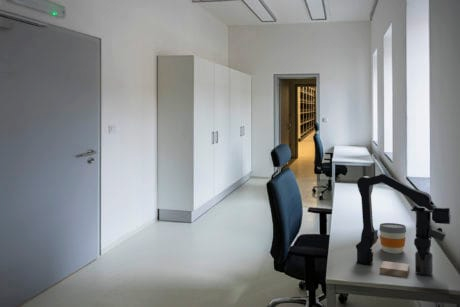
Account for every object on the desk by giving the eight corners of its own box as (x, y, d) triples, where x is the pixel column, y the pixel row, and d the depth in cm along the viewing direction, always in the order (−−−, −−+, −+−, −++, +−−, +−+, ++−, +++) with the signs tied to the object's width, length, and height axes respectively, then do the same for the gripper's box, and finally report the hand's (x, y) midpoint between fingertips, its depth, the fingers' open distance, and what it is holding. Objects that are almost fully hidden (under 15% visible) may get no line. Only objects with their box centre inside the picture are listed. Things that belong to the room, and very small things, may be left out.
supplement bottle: (427, 271, 179) (427, 244, 179) (435, 276, 172) (436, 247, 172) (412, 271, 179) (412, 243, 179) (419, 276, 172) (420, 247, 172)
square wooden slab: (379, 274, 177) (379, 267, 177) (382, 267, 187) (382, 261, 187) (407, 278, 172) (407, 270, 172) (409, 270, 182) (409, 264, 182)
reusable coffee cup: (410, 258, 200) (410, 227, 199) (384, 258, 200) (384, 227, 199) (400, 251, 212) (400, 222, 212) (375, 251, 212) (375, 222, 212)
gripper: (444, 227, 164) (444, 266, 164) (444, 220, 180) (444, 255, 181) (414, 225, 169) (414, 262, 169) (416, 218, 186) (416, 252, 186)
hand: (423, 258), depth 176 cm, fingers closed on supplement bottle, 7 cm apart
